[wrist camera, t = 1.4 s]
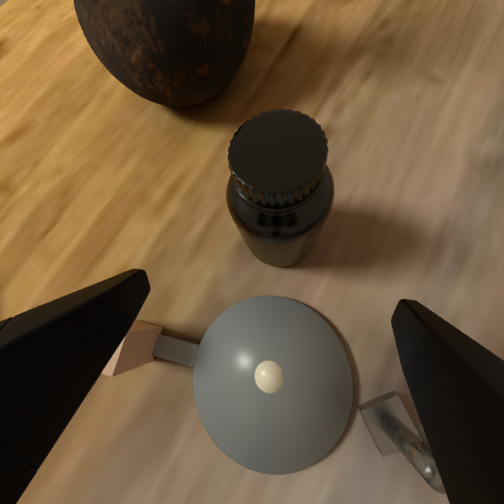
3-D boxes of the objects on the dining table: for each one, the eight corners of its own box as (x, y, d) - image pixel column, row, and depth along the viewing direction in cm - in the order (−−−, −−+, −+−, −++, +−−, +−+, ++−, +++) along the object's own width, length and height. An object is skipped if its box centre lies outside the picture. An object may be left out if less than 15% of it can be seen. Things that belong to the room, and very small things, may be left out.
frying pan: (384, 430, 17) (425, 478, 12) (160, 526, 17) (112, 611, 12) (293, 250, 21) (297, 231, 16) (118, 327, 21) (70, 331, 16)
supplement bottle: (295, 192, 23) (310, 70, 11) (329, 249, 21) (388, 172, 9) (235, 220, 23) (188, 127, 11) (263, 280, 21) (240, 241, 9)
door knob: (421, 444, 16) (571, 586, 8) (383, 461, 16) (492, 618, 8) (387, 381, 17) (485, 445, 9) (352, 396, 17) (418, 474, 9)
